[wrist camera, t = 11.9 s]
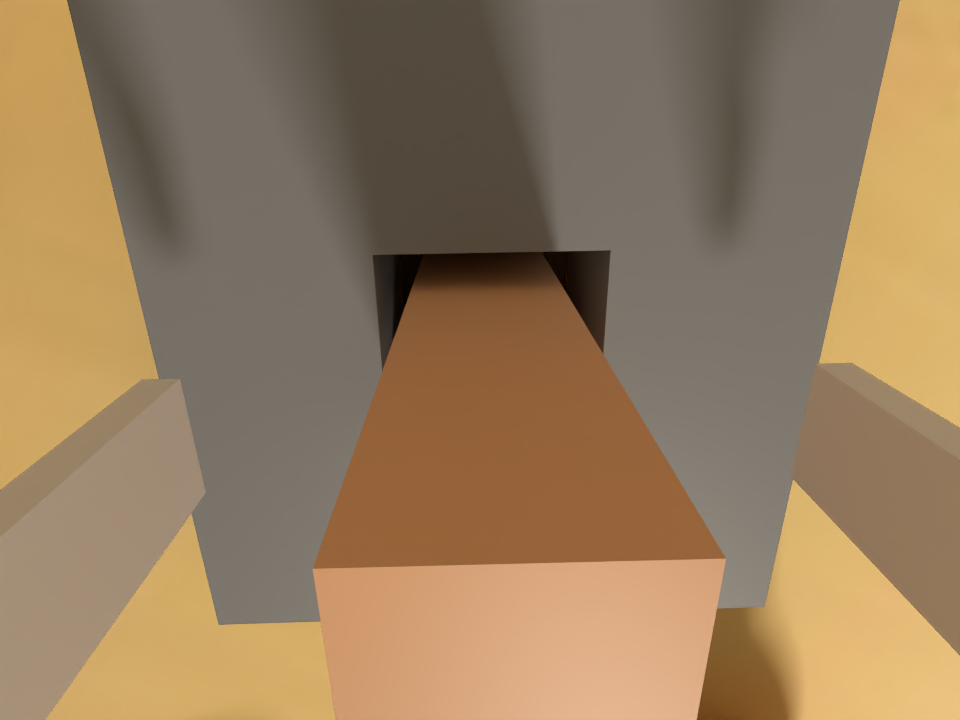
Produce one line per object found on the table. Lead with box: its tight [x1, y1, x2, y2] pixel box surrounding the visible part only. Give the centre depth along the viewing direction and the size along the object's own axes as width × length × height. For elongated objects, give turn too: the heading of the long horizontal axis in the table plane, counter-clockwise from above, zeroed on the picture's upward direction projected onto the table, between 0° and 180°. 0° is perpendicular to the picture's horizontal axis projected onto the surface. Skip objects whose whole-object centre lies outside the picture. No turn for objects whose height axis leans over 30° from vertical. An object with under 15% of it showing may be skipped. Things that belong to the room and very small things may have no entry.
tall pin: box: [313, 252, 726, 720], centre depth 14 cm, size 4×4×16 cm
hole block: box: [67, 0, 900, 625], centre depth 18 cm, size 18×18×6 cm
